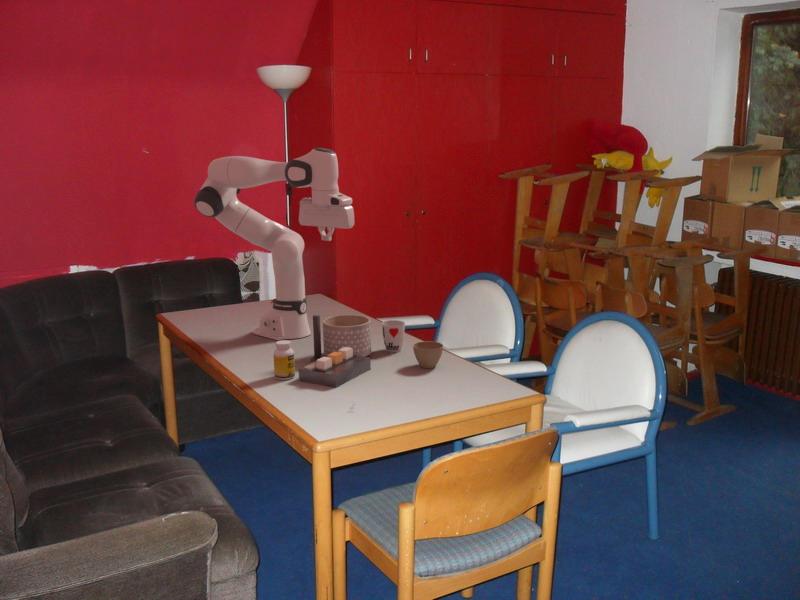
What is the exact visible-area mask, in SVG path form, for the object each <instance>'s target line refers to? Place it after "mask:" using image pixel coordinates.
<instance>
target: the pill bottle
mask: <svg viewBox="0 0 800 600" xmlns="http://www.w3.org/2000/svg"><path fill="white" fill-rule="evenodd" d="M291 346H292V342H291V341H290V340H289V339H283V340H276V342H275V347H276V349H275V350H274V351H273V372H274V378H275V379H277V380H279V381H280V380H281V381H285V380H286V381H287V380H291V379H293V378H295V375H296V367H295V366H296V365H295V363H296V362H295V351H294V350H293V348H291Z"/></svg>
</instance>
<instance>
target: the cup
mask: <svg viewBox="0 0 800 600" xmlns="http://www.w3.org/2000/svg"><path fill="white" fill-rule="evenodd" d="M405 327H406V325H405V322H404V321H403V320H395V319H393V320H392V319H391V320H389V319H388V320H385V321H382V322H381V328H382V329H381V330H382V337H383V338H382V339H383V343H384V346H385V350H386V352H388V353H399V352H401V350H402V348H403V344H404V338H405V331H406V330H405Z"/></svg>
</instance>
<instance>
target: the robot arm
mask: <svg viewBox="0 0 800 600" xmlns="http://www.w3.org/2000/svg"><path fill="white" fill-rule="evenodd" d="M207 176H208V177H206V179H205V181H204V183H203V184H202V186H201V188H199V190H198V191H197V193H196V195H195V196H194V197H195V198H194V200H193V205H194V206H195V209H196V210H197V211H198V213H200V214H201V215H202V216H204V217H208V218H215V219H216V221H218V222H219V223H220V224H221V225H222V226H224V228H226V229H228V230H229V231H231V232H232V233H234V234H235V235H237V236H238V237H240V238H243V239H244V240H246V241H247V242H249V243H250V244H253V245H255V246H258V247H260V248H263V249H265V250H267V251H269V252H271V260H272V267H273V273H274V284H275V285H274V287H275V298H274V299H272V300H270V305H271V304H272V308H270V309H269V310H268V311H267V312H265V313H264V314H263V315H262V316H261V317H260V319H259V325H258V328H255V329H254V330H253V335H256V336H261V337H265V338H268V339H271V340H275V341H281V340H292V339H295V340H296V339H301V338H305V337H308V336H310V335H311V334H312V332H311V329H310V326H309V321H308V315H307V308H308V307H307V305H308V303H307V302H308V301H307V297H306V286H305V285H306V284H305V281H306V280H305V274H304V264H303V254H304V250H305V241H304V239H303V237H302V235H301V234H300V233H298V232H296V231H294V230H292V229H290V228H288V227H286V226H284V225H282V224H281V223H279V222H276V221H274V220H271V219H270V218H268V217H266V216H264V215H263V214H261V213H260V212H258V211H256V210H255V209H253V208H251V207H250V206H248V205H247V204H245V203H243V202H241V201H240V200H239V198H238V197H237V195H239V194H240V193H241V191H242V190H241V189H250V188H254V187H259V186H261V185H262V186H263V185H265V184H267V185H268V184H270V183H275V182H280V181H286V182H287V183H288V185H289V186H291V187H292V188H297V189H299V188H300V189H301V188H302V189H303V188H309V187H311V197H306V196H305V197H303V198H301V199H300V201H299V210H298V211H299V213H298V222H299V224H300V226H307V227H317V229H318V232H319V234H320V236H321V237H320V238H321V241H327V242H331V241H332V239H333V238H332V236H333V234H334V231H335V229H345V230H346V229H352V228H353V227H354V226H355V210H354V206H352V204H353V198H352V197H350V196H348V195H345V194H343V193H342V192H340V188H339V185H338V184H339V183H338V182H339V181H338V179H339V162H338V157H337V153H336V151H334V150H333V149H330V148H326V147H315V148H313V149H311V151H309V152H307V154H304V155H302V156H299V157H296V158H293V159H290V160H289V161H274V160H268V159H267V160H266V159H263V158H258V157H253V156H252V157H250V156H244V155H231V156H222V157H219V158H216V159H214V160H212V161H211V162H210V163H209V164H208V167H207ZM326 228H327V229H326ZM325 230H327V234H326V231H325Z"/></svg>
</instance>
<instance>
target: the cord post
mask: <svg viewBox="0 0 800 600" xmlns="http://www.w3.org/2000/svg"><path fill="white" fill-rule="evenodd" d="M312 328H313V329H312V331H313V355H314V356H313V358H311V359H310V363H312V362H314V361H316V360H318V359H320V358H322V357H323V356H322V337H321V336H322V335H321V334H322V332H321V315H319V314H315V315H313V316H312Z"/></svg>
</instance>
